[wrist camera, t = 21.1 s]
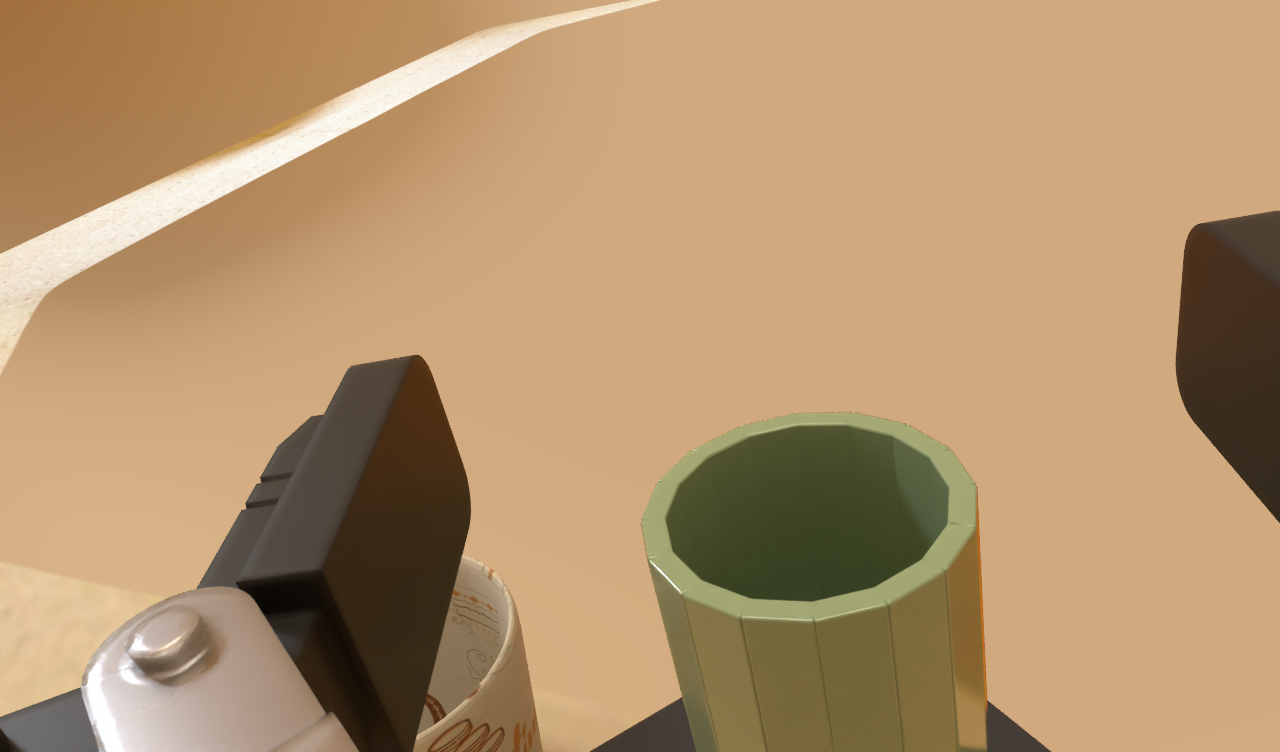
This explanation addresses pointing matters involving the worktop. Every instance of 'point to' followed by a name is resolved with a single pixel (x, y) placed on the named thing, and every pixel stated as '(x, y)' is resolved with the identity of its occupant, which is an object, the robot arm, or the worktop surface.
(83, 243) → the worktop surface
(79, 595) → the worktop surface
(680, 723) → the container
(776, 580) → the cup
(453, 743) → the mug
